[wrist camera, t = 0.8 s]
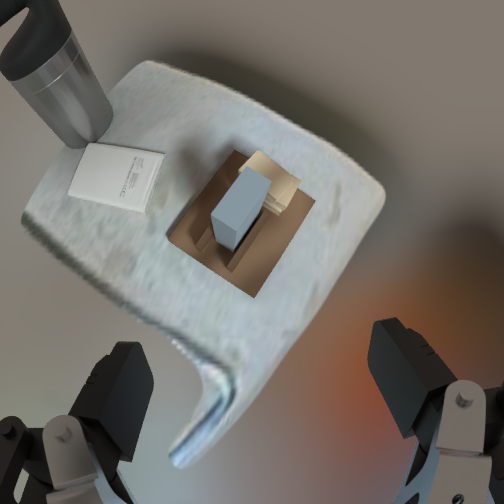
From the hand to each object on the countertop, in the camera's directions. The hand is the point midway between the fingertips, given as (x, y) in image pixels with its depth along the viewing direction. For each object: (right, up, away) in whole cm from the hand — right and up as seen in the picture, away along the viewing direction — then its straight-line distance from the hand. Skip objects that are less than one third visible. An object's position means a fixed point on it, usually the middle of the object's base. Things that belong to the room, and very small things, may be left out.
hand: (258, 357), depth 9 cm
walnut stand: (-1, +7, +25) cm, 26 cm away
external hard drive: (-18, +13, +25) cm, 34 cm away
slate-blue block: (-2, +6, +24) cm, 25 cm away
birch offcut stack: (+1, +11, +25) cm, 27 cm away
